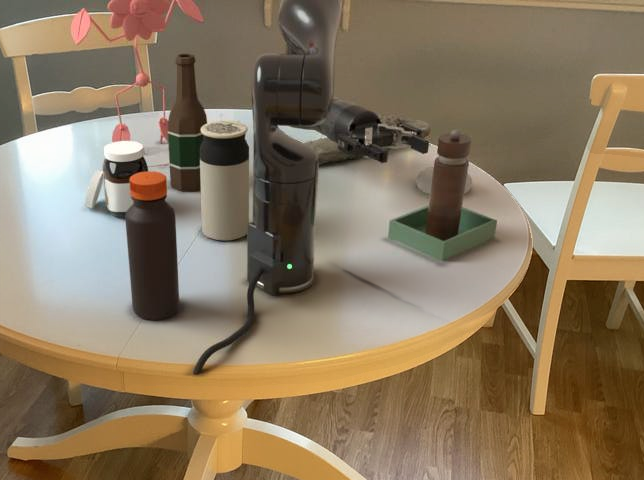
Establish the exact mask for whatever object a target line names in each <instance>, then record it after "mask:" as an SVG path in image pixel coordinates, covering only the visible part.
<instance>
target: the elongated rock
mask: <svg viewBox="0 0 644 480" xmlns="http://www.w3.org/2000/svg"><path fill="white" fill-rule="evenodd" d="M376 114H377V113H376ZM377 115H378V117H379V119H380V121H381V123H382V124H387V125H388V126H392V127H397V122H403V123H406V124H408V125H411V126H414V127H416V128H419V129H421V130H423V131H422V137H421V138H423V139H426V137H428V136H429V135H430V132H431V125H430V124H429V122H426V121H424V120H420V119H409V118H407V117H403V116H401V115H400V116H399V115H398V116H397V115H395V114H391V115H389V116H388V115H384V114H383V113H379V114H377ZM403 142H408V141H405V140H403ZM303 143H304V144H306V145H309V146H310V147H312V148H313V149H314V150H315V151H316V152H317V154H318V157H319V165H321V164H327V163H334V162H343V161H346V160H348V159H353V158H352V157H350V156H349V155H347V154H345V153H344V152H342V151H340V150H338V144H337V143H335V142H333V141H332V140H330V139H329V138H328V137H327V136H326V137H323V138H318V139H314V140H310V141H309V140H308V141H306V142H303ZM393 143H397V137H396V135H394V137H393ZM384 149H386V150H387V151H390V150H394V149H395V148H387V147H384ZM395 150H396V149H395Z"/></svg>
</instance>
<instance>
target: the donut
mask: <svg viewBox="0 0 644 480" xmlns="http://www.w3.org/2000/svg"><path fill="white" fill-rule="evenodd" d="M433 169H434V166H430V167H427V168H424V169H423V170H421V171H420V172H419V173H418V175H417V176H416V180H415V183H416V186H417V188H418V190H419V191H421V192H422V193H424V194H427V195H429V196H430V192H431V184H432V177H433ZM472 185H473V179H472V177H471V176H470V174H469V173H467V179H466V185H465V192H464V195H465V194H467V193H469V191H470V190H471V188H472Z"/></svg>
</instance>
